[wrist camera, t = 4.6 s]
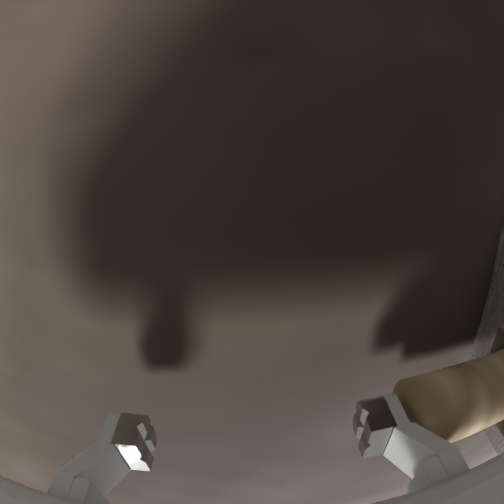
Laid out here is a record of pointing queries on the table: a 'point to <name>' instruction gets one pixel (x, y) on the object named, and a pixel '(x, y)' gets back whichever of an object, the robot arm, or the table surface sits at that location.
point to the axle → (456, 397)
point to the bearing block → (493, 333)
